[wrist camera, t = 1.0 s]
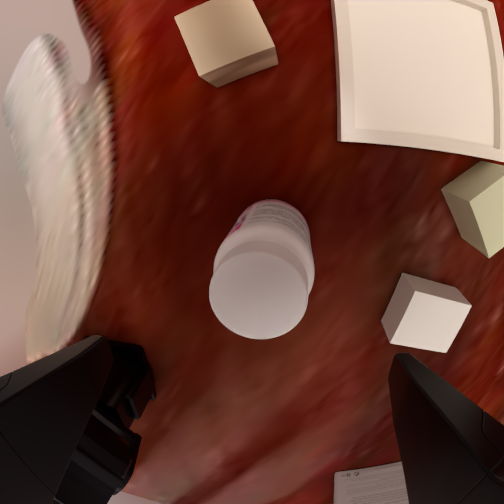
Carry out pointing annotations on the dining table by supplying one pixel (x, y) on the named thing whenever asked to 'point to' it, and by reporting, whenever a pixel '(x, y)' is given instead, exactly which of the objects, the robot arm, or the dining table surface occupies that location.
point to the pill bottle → (263, 271)
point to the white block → (424, 314)
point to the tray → (420, 75)
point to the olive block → (479, 206)
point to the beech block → (226, 40)
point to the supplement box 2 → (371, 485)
